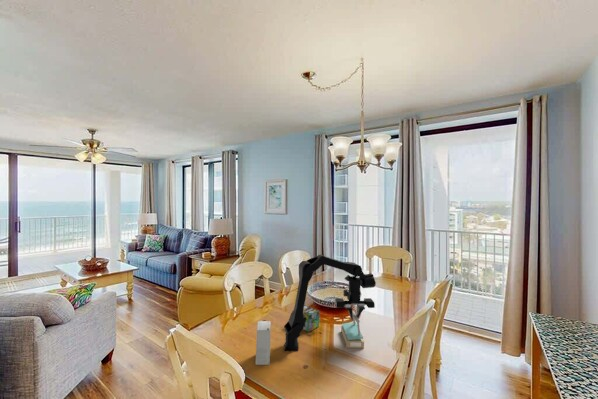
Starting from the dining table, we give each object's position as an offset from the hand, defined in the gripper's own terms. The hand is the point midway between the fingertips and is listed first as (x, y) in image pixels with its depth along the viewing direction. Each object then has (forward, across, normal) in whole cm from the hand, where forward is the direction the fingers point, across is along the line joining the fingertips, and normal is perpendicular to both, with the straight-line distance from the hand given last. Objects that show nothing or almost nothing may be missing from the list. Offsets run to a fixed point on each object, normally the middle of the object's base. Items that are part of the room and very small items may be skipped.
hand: (354, 320), depth 132 cm
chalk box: (+4, +28, -18) cm, 33 cm away
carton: (+9, +1, 0) cm, 9 cm away
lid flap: (+6, +1, 0) cm, 6 cm away
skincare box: (+9, +43, +18) cm, 48 cm away
